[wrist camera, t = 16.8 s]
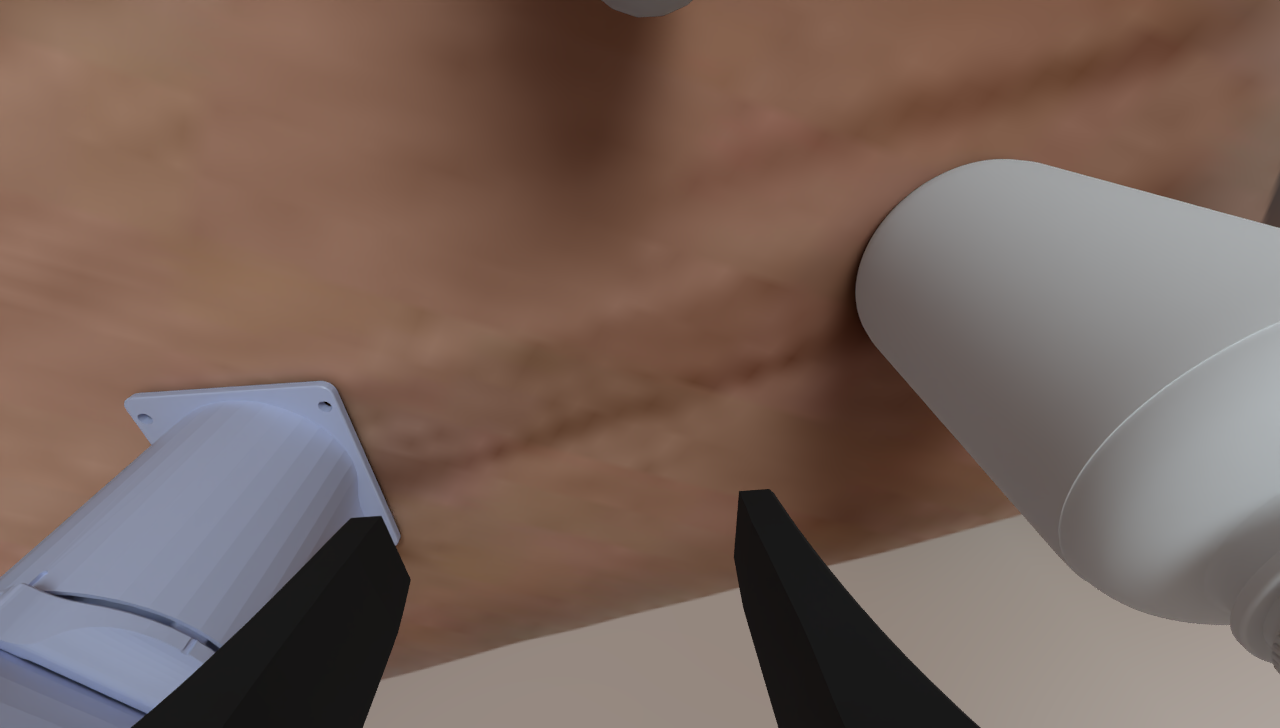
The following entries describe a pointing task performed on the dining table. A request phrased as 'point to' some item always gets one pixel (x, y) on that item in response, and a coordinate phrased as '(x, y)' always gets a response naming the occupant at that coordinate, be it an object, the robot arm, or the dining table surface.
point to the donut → (646, 6)
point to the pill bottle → (1101, 375)
